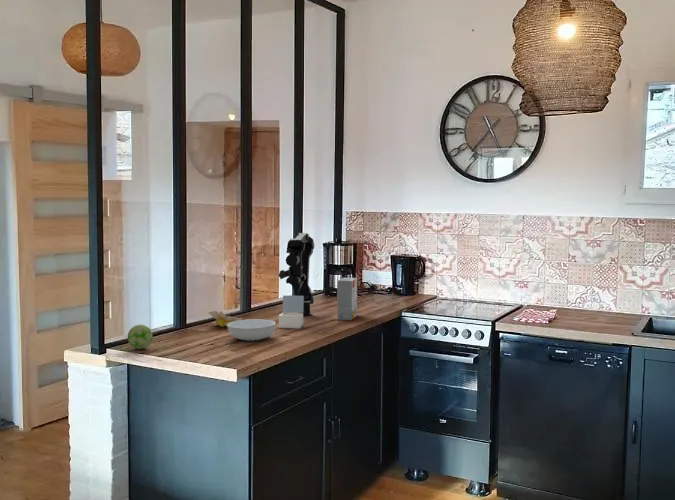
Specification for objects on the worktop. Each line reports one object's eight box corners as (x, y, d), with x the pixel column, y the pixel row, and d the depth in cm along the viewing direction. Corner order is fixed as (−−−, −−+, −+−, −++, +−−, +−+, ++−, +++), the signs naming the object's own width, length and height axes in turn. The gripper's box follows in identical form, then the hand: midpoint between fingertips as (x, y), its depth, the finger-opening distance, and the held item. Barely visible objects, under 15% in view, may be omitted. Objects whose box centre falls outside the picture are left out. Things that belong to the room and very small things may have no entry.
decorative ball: (122, 349, 277) (122, 325, 276) (142, 345, 285) (141, 321, 284) (139, 352, 271) (138, 328, 270) (158, 348, 279) (157, 324, 279)
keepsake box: (282, 324, 330) (282, 312, 330) (303, 325, 329) (303, 313, 328) (279, 327, 322) (278, 315, 322) (299, 328, 321) (299, 315, 321)
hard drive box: (351, 320, 341) (351, 281, 340) (336, 320, 343) (336, 280, 341) (357, 315, 357) (357, 277, 355) (342, 314, 358) (342, 277, 357)
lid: (282, 312, 330) (283, 312, 331) (303, 312, 328) (303, 312, 329) (282, 295, 330) (283, 295, 331) (303, 295, 328) (303, 295, 329)
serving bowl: (223, 336, 304) (223, 320, 304) (269, 332, 312) (268, 317, 311) (233, 345, 285) (232, 329, 284) (281, 341, 292) (281, 325, 292)
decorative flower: (248, 322, 327) (243, 302, 325) (231, 331, 319) (226, 311, 317) (226, 321, 337) (221, 302, 335) (210, 330, 328) (204, 310, 326)
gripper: (284, 262, 346) (284, 293, 347) (275, 266, 327) (275, 298, 328) (305, 262, 344) (306, 293, 345) (298, 266, 326) (298, 298, 327)
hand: (296, 295), depth 336 cm, fingers closed
